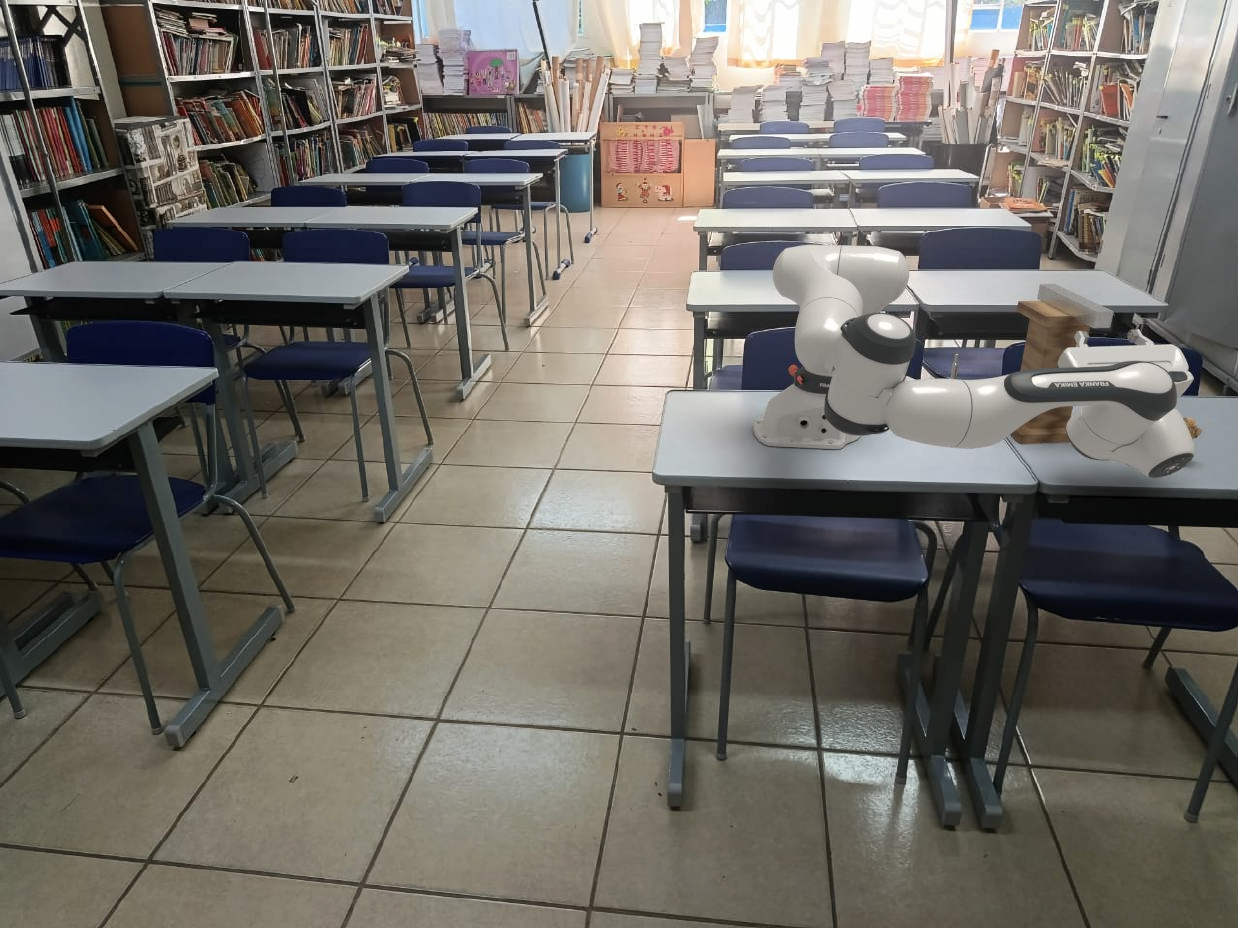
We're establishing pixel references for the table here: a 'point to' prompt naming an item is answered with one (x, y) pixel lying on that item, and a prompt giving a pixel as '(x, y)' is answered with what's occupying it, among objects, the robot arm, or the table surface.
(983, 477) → the table surface
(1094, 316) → the metal block
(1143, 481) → the table surface
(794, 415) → the robot arm
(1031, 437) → the walnut stand
